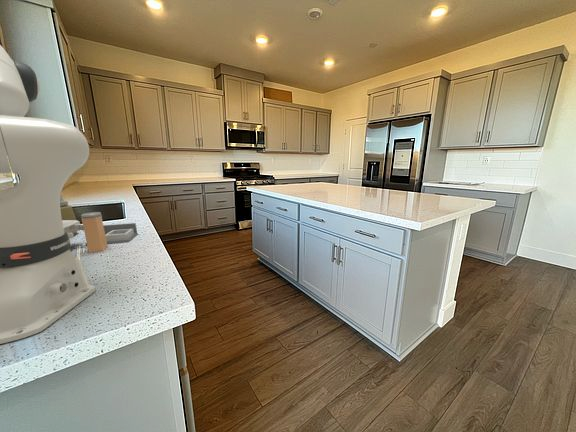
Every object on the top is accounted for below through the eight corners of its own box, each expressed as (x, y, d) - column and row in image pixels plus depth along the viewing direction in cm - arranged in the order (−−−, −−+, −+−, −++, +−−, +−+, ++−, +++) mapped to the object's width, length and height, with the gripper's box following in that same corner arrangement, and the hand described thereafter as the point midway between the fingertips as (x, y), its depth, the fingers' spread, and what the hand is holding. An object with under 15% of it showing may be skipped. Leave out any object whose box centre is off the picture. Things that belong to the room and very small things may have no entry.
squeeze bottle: (68, 238, 97) (57, 194, 93) (48, 238, 97) (37, 194, 93) (85, 232, 105) (76, 191, 100) (67, 232, 105) (57, 191, 101)
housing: (128, 242, 91) (126, 229, 90) (85, 246, 88) (82, 232, 86) (137, 234, 101) (135, 223, 99) (98, 237, 97) (96, 225, 96)
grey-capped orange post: (103, 251, 82) (96, 214, 79) (85, 253, 80) (77, 216, 77) (110, 246, 87) (103, 211, 84) (93, 248, 85) (85, 212, 82)
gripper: (0, 234, 67) (60, 230, 70) (49, 218, 86) (94, 215, 90) (7, 255, 68) (65, 250, 72) (53, 235, 87) (97, 231, 91)
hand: (81, 230), depth 81 cm, fingers open, 8 cm apart
